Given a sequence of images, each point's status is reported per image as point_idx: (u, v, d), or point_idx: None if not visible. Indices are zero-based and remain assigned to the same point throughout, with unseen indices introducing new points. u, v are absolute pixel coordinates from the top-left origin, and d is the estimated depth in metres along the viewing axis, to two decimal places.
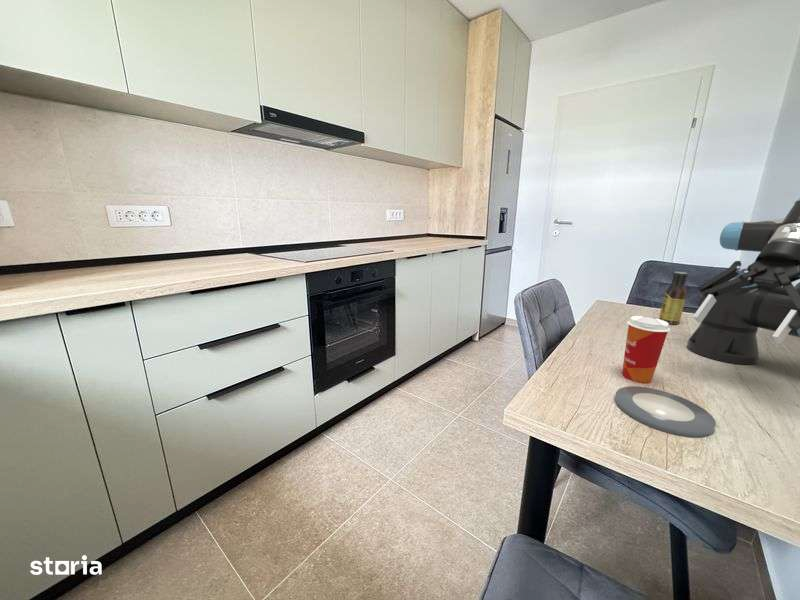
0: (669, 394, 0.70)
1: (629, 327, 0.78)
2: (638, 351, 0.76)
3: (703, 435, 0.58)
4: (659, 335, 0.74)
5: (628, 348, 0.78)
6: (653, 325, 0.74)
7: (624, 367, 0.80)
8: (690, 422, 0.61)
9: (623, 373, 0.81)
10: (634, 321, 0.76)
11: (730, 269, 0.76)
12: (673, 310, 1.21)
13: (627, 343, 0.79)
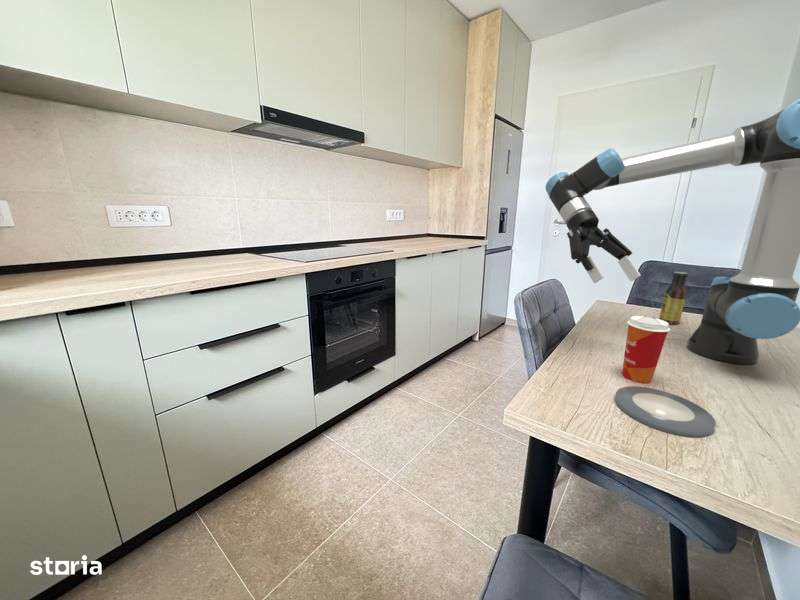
0: (669, 394, 0.70)
1: (629, 327, 0.78)
2: (638, 351, 0.76)
3: (703, 435, 0.58)
4: (659, 335, 0.74)
5: (628, 348, 0.78)
6: (653, 325, 0.74)
7: (624, 367, 0.80)
8: (690, 422, 0.61)
9: (623, 373, 0.81)
10: (634, 321, 0.76)
11: None
12: (673, 310, 1.21)
13: (627, 343, 0.79)
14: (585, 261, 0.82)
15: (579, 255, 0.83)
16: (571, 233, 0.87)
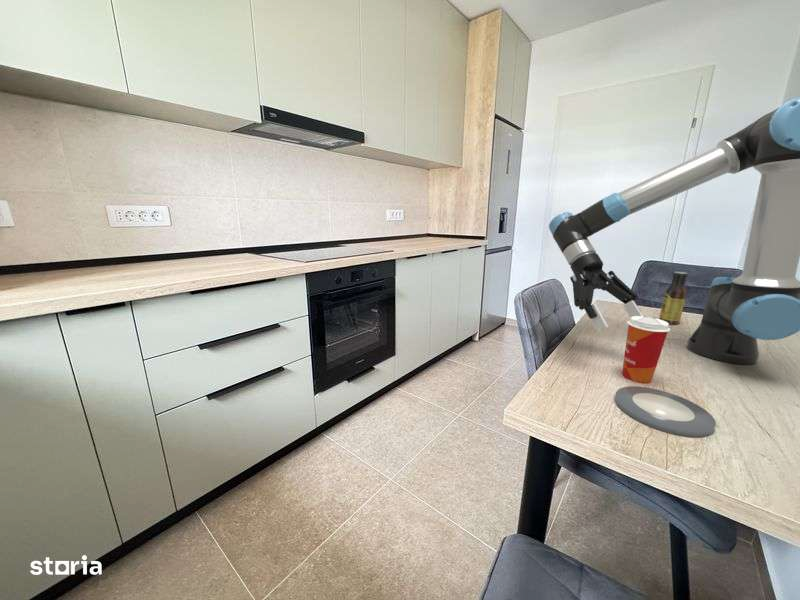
0: (669, 394, 0.70)
1: (629, 327, 0.78)
2: (638, 351, 0.76)
3: (703, 435, 0.58)
4: (659, 335, 0.74)
5: (628, 348, 0.78)
6: (653, 325, 0.74)
7: (624, 367, 0.80)
8: (690, 422, 0.61)
9: (623, 373, 0.81)
10: (634, 321, 0.76)
11: None
12: (673, 310, 1.21)
13: (627, 343, 0.79)
14: (588, 309, 0.81)
15: (582, 303, 0.81)
16: (574, 278, 0.86)
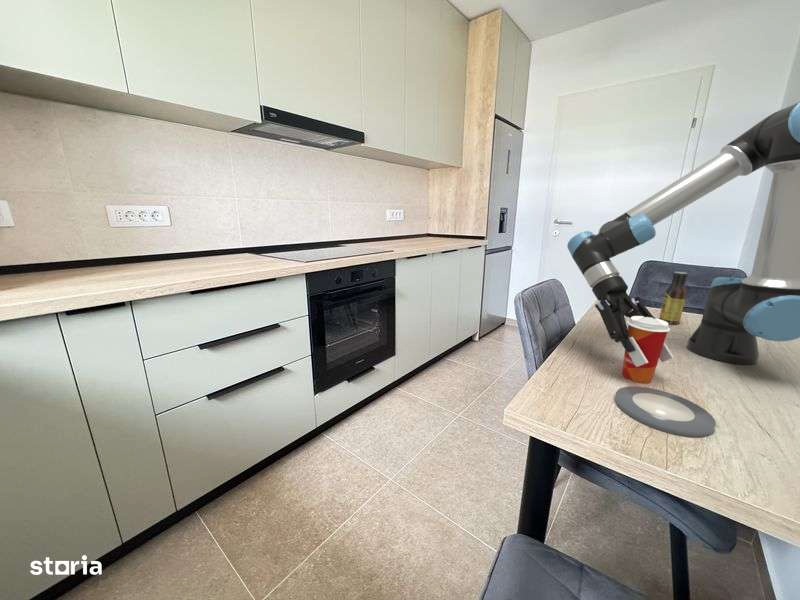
0: (669, 394, 0.70)
1: (629, 327, 0.78)
2: None
3: (703, 435, 0.58)
4: (659, 335, 0.74)
5: None
6: (653, 325, 0.74)
7: (624, 367, 0.80)
8: (690, 422, 0.61)
9: (623, 373, 0.81)
10: (634, 321, 0.76)
11: None
12: (673, 310, 1.21)
13: None
14: (626, 342, 0.76)
15: (619, 336, 0.76)
16: (601, 306, 0.81)
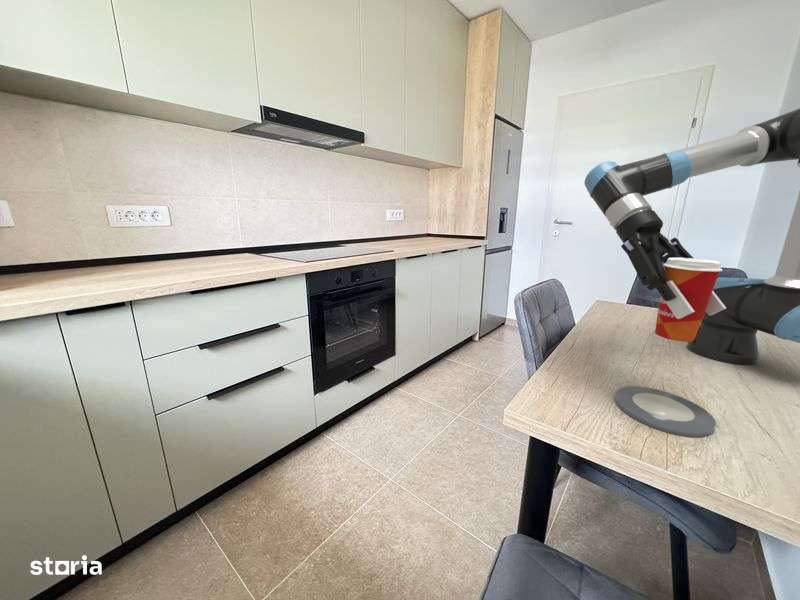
0: (669, 394, 0.70)
1: (666, 270, 0.61)
2: None
3: (703, 435, 0.58)
4: (709, 276, 0.56)
5: None
6: (700, 263, 0.56)
7: (658, 323, 0.63)
8: (690, 422, 0.61)
9: (657, 331, 0.64)
10: (674, 261, 0.59)
11: None
12: None
13: None
14: (663, 288, 0.59)
15: (654, 279, 0.59)
16: (630, 246, 0.63)
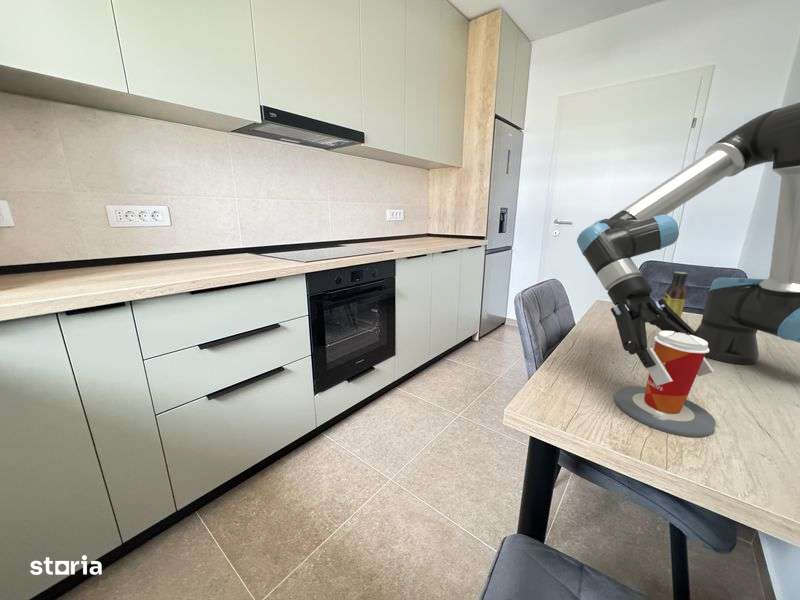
0: None
1: (657, 344, 0.63)
2: None
3: (703, 435, 0.58)
4: (696, 357, 0.59)
5: None
6: (689, 344, 0.59)
7: (647, 392, 0.66)
8: (690, 422, 0.61)
9: (646, 399, 0.66)
10: (664, 338, 0.62)
11: None
12: (673, 310, 1.21)
13: None
14: (644, 355, 0.61)
15: (635, 347, 0.61)
16: (618, 311, 0.66)
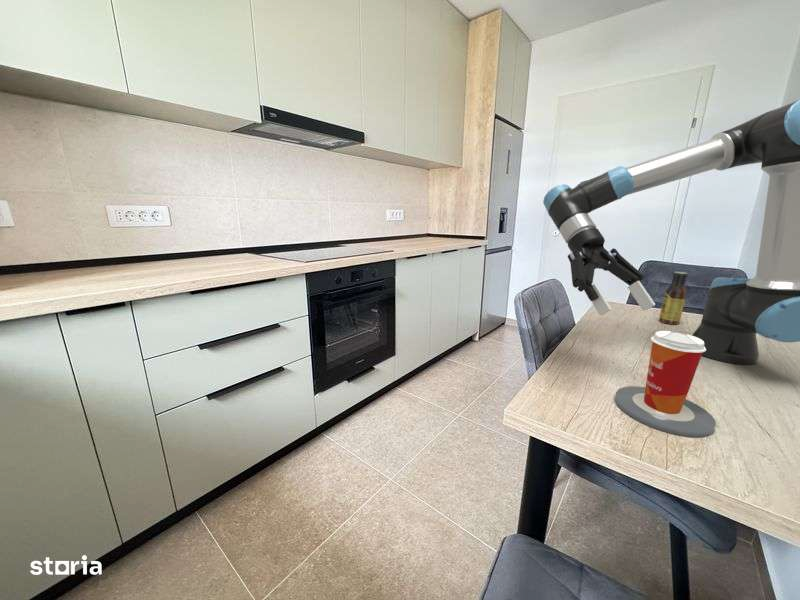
0: None
1: (654, 345, 0.64)
2: (665, 375, 0.62)
3: (703, 435, 0.58)
4: (693, 356, 0.59)
5: (652, 371, 0.64)
6: (685, 344, 0.59)
7: (647, 393, 0.66)
8: (690, 422, 0.61)
9: (645, 400, 0.66)
10: (660, 338, 0.62)
11: None
12: (673, 310, 1.21)
13: (651, 364, 0.64)
14: (589, 290, 0.71)
15: (582, 283, 0.71)
16: (572, 256, 0.76)
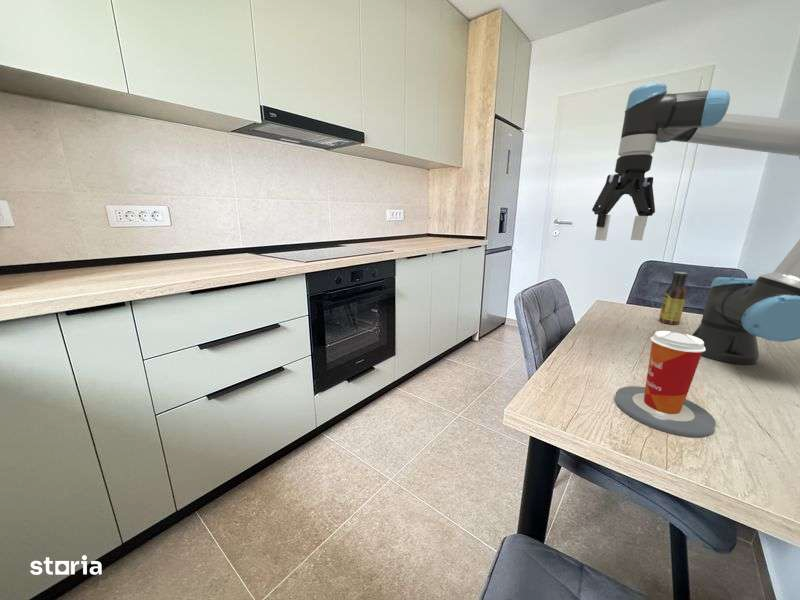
0: None
1: (653, 345, 0.64)
2: (665, 375, 0.62)
3: (703, 435, 0.58)
4: (693, 356, 0.59)
5: (652, 371, 0.64)
6: (685, 344, 0.59)
7: (647, 393, 0.66)
8: (690, 422, 0.61)
9: (645, 400, 0.66)
10: (660, 338, 0.62)
11: None
12: (673, 310, 1.21)
13: (651, 364, 0.64)
14: (601, 218, 0.83)
15: (599, 211, 0.82)
16: (611, 179, 0.81)
